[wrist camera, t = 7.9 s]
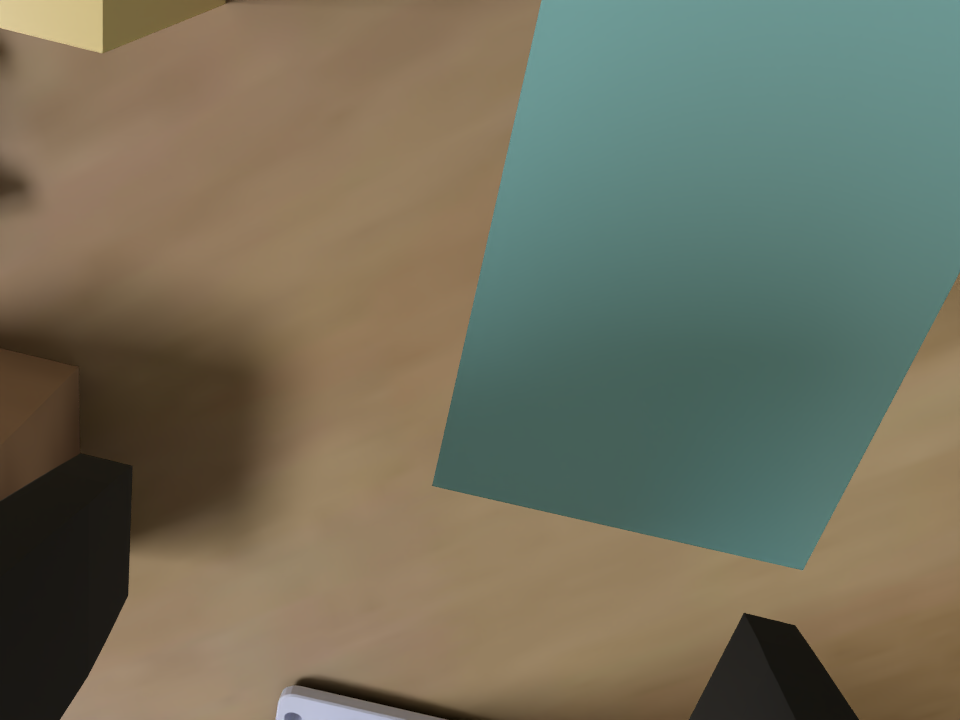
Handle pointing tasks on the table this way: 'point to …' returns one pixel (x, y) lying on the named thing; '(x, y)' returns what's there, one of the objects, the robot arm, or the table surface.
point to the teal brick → (710, 263)
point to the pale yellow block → (97, 19)
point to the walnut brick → (36, 418)
